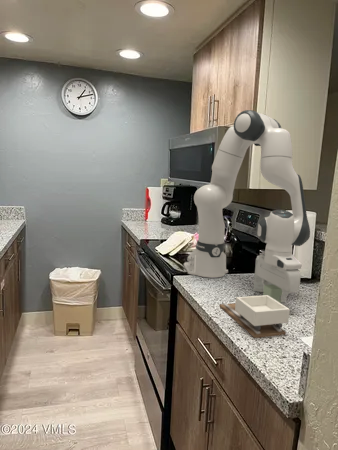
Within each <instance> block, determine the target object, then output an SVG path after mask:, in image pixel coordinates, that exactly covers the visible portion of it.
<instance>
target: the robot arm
mask: <svg viewBox="0 0 338 450" xmlns="http://www.w3.org/2000/svg"><path fill="white" fill-rule="evenodd" d="M252 145H254V146H255V147H260V173H261V175H262V177H263V178H264V179H265V180H266V181H267V182H269V183H270V184H272V185H275V186H276V187H279V188H281V189H283V190H285V191H286V192H287V194H289V197H290V204H291V211H288V210H284V209H275V210H272V211H270V213H269V216H265V217H263V218H261V219H260V220H259V221H258V222H257V227H256V237H257V238H258V239H259V240H260V241H261V242H262V243H265V244H266V245H265V250H264V251H262V252H261V253H260V254H259V256H260V257H259V259H258V262H257V267H256V275H257V276H259V277H260V278H262V283H263V291H264V285H268V282H270V283H271V284H273V285H275V286H277V287H279V288H281V289H282V295H281V296H279V300H280V301H281V303H286V301H287V297H288V296H289V294H293V293H295V294H296V293H297V292H299V290H300V285H301V272H300V270H301V269H302V264H303V263H302V262H301V261H300V260H299V259H297V258H296V257H295V255H294V254H293V246H296V247H301V246H302V245H304V244H305V243H307V242H308V241H309V239H310V237H311V228H310V224H309V223H310V222H309V220H308V214H307V207H306V201H305V192H304V185H303V180H302V178H301V175H300V174H298V173H297V172H296V170H295V168H294V166H293V144H292V136H291V133H290V131H288V130H287V129H285V128H282V126H281V124H280V123H279V122H278V120H276V119H275V118H272V117H271V116H269V115H267V114H264V113H261V112H258V111H256V110H251V109H246V110H245V109H244V110H241V112H239V113H238V114H237V116H236V117H235V119H234V122H233V126H230V127H228V129H227V130H226V132H225V134H224V136H223V137H222V139H221V142H220V144H219V146H218V149H217V151H216V154H215V157H214V159H213V163H212V164H211V171H212V172H211V178H210V182H209V184H205V185H202V186H201V187H200V188H199V187H198V189H197V190H196V191H195V193H194V195H193V201H194V204H195V206H196V209H197V214H198V239H197V240H196V245H195V249H193V250H192V251H191V252H190V253H189V255H187V261H185V262H184V263H183V266H184V268H185V270H186V272H187V274H188V275H192V276H193V275H194V276H199V277H203V278H213V279H214V278H221V277H224V276H225V275H226V274H228V273H229V269H227V255H226V253H225V252H224V251H225V244H226V243H225V231H226V230H225V229H226V225H225V222H224V221H225V220H224V215H223V209H225V208H227V207H228V206H230V204H231V203H232V201H233V197H234V195H233V194H234V191H235V186H236V181H237V176H238V174H239V171H240V168H241V167H242V165H243V160H244V158H245V156H246V153H247V152H248V151H247V150H248V148H249V147H250V146H252Z"/></svg>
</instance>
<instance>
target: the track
mask: <svg viewBox="0 0 338 450" xmlns="http://www.w3.org/2000/svg"><path fill="white" fill-rule="evenodd" d="M235 304H236V302H235V303H227V302H223V303H221V304H220V303H219V308H220V309H221V310H223V312H225V313H226V314H227V315H228V316H229V317H230V318H232V319H233V321H235V322H236V323H237V324H238V325H239V326H240V327H242V329H243V330H245V331H246V332H247V333H249V335H251V336H252V337H253V338H254V339H261V338H268V337H276V336H277V337H278V336H284V335H286V334H287V332H286V330H283V328H282V327H281V328H277V327H276V324H270V325H260V326H261V329H260V330H256V329H255V327H254V325H253V324H251V323H250V322H249V321H248V320H247V319H245V318H241V316H240V314H239V313H238V312H237V311H236V310H235Z"/></svg>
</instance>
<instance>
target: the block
mask: <svg viewBox="0 0 338 450" xmlns="http://www.w3.org/2000/svg"><path fill="white" fill-rule="evenodd" d="M262 293H263V294H262V295H268V296H270V297H271V298H273V299H275V300H276V301H278V302H279V303H281V304H282V301H280V300H279V296H281V295H282V293H283V292H282V289H281V288H279V287H277V286H275V285H264V291H263V292H262Z"/></svg>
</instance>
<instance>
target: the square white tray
mask: <svg viewBox="0 0 338 450" xmlns="http://www.w3.org/2000/svg"><path fill="white" fill-rule="evenodd" d="M235 303H236V304H235V310H236V311H237V312H238V313H239V314H240V316H241V318H245V319H247V320H248V321H249V322H250V323H251V324H253V325H254V327H255V329H256V330H260V329H261V326H260V325H270V324H276V327H277V328H281V329H282V327H283V324H286V323H287V324H288V323H289V321H290V312H291V310H290V308H289V307H287V306H286V305H284V304H282V302H281V303H279V302H278V301H276V300H275V299H273V298H271V297H270V296H268V295H263V294H262V295H252V296H251V295H250V296H240V297H239V296H238V297H237V296H236V297H235Z"/></svg>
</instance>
